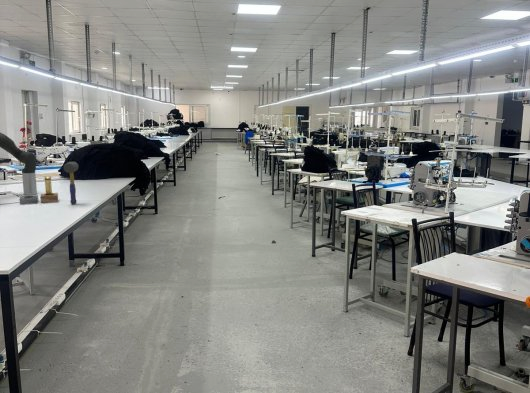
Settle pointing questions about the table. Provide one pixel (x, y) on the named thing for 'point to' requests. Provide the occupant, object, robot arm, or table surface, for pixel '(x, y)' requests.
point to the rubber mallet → (71, 179)
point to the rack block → (49, 198)
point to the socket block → (29, 199)
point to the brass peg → (48, 185)
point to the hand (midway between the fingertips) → (10, 160)
